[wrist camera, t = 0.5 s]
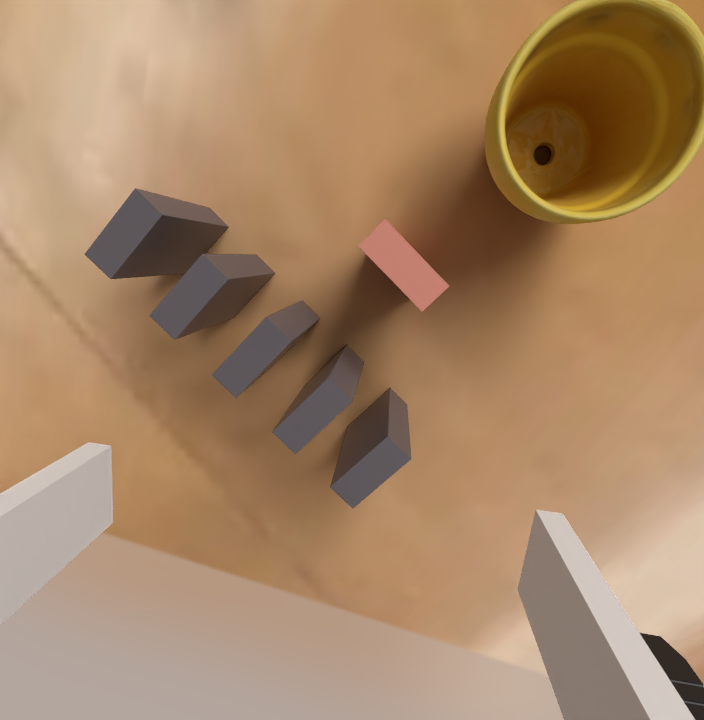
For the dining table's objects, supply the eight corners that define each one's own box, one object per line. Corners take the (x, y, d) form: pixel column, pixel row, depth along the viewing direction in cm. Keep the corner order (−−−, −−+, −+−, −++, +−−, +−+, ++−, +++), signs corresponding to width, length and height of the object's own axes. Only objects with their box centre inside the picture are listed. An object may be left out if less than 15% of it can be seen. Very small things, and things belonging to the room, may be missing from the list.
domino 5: (414, 296, 34) (422, 311, 24) (369, 249, 33) (358, 246, 24) (433, 277, 33) (449, 286, 24) (387, 230, 33) (384, 218, 23)
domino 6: (347, 426, 37) (330, 487, 27) (390, 387, 36) (388, 436, 26) (363, 443, 37) (352, 508, 27) (407, 404, 36) (411, 458, 26)
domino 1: (170, 255, 35) (84, 254, 25) (209, 208, 34) (135, 188, 24) (189, 273, 35) (110, 279, 26) (228, 226, 34) (162, 214, 24)
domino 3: (261, 343, 36) (211, 374, 26) (302, 300, 35) (266, 316, 25) (278, 360, 36) (236, 398, 26) (320, 318, 35) (291, 341, 25)
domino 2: (216, 299, 35) (149, 315, 26) (256, 254, 34) (202, 253, 25) (234, 317, 36) (174, 339, 26) (275, 273, 35) (228, 279, 25)
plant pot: (615, 223, 31) (711, 208, 22) (468, 239, 33) (498, 232, 23) (620, 61, 29) (728, -34, 20) (461, 85, 30) (491, 7, 21)
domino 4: (304, 385, 36) (272, 432, 27) (346, 344, 35) (328, 377, 26) (322, 402, 37) (295, 454, 27) (364, 361, 35) (352, 401, 26)
